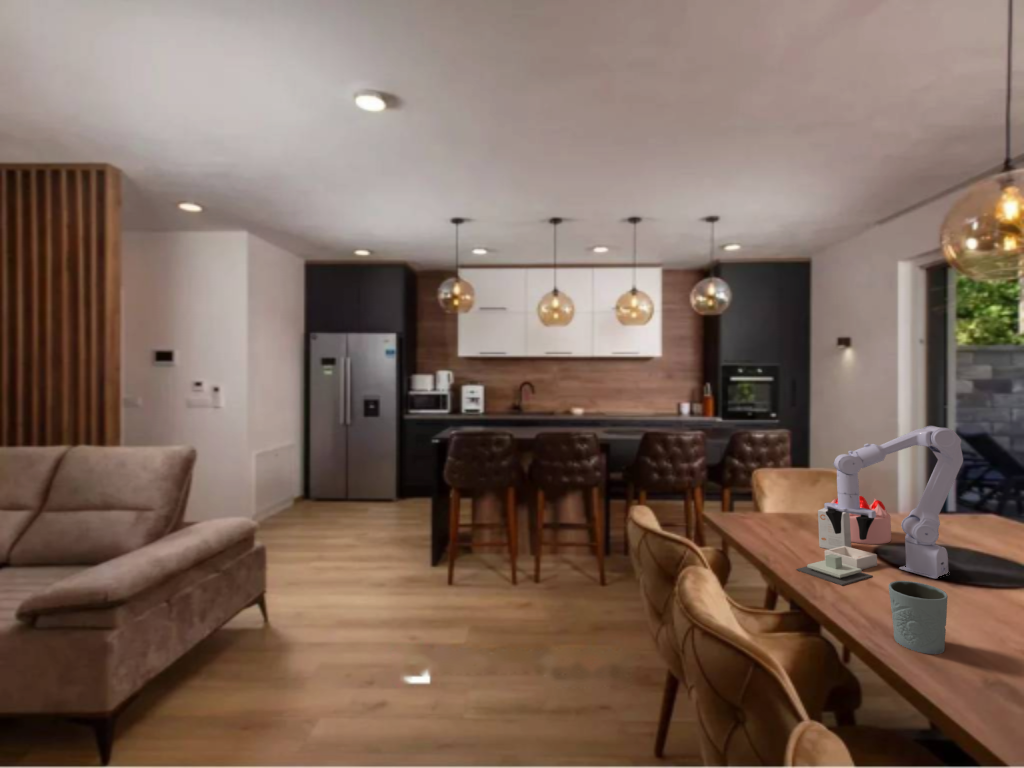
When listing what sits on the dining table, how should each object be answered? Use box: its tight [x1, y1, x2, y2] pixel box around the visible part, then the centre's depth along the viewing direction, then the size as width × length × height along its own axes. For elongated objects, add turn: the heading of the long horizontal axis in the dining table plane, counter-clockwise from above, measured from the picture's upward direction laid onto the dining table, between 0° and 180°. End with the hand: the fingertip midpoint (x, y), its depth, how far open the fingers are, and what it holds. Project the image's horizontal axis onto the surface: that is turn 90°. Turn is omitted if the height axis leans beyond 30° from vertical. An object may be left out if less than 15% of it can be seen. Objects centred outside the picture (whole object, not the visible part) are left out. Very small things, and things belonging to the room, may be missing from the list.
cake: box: [830, 495, 892, 545], centre depth 186 cm, size 20×20×14 cm
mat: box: [795, 565, 873, 586], centre depth 151 cm, size 14×14×1 cm
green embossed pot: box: [888, 580, 949, 655], centre depth 109 cm, size 10×10×12 cm
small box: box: [817, 507, 852, 550], centre depth 175 cm, size 8×6×13 cm
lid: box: [806, 554, 863, 578], centre depth 151 cm, size 10×10×5 cm
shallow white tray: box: [824, 546, 878, 571], centre depth 159 cm, size 10×10×4 cm
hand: (850, 536), depth 157 cm, fingers open, 7 cm apart
